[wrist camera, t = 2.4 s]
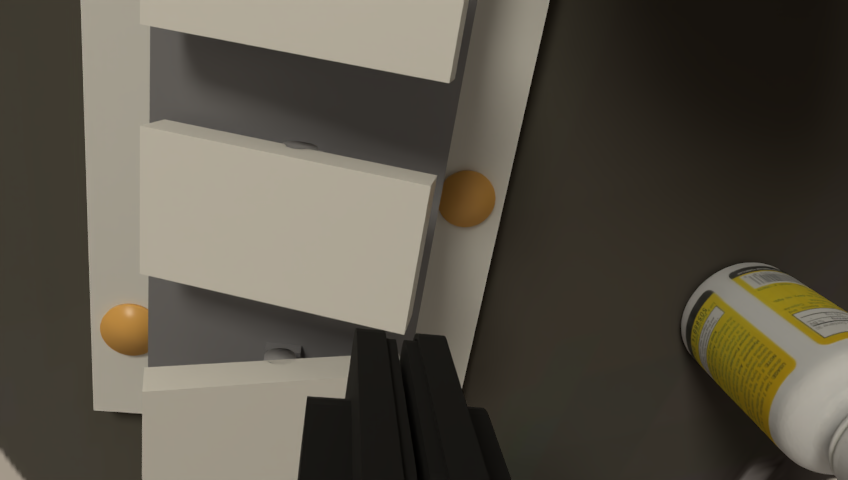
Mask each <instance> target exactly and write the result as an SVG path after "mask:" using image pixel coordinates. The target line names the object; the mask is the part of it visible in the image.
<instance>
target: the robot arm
mask: <svg viewBox="0 0 848 480" xmlns="http://www.w3.org/2000/svg"><path fill="white" fill-rule="evenodd" d="M298 480H511V478H510V475H509V472H508V469H507V466H506V463H505V461H504V458H503V455H502V452H501V449H500V446H499V444H498V441H497V438H496V435H495V432H494V429H493V426H492V424H491V421H490V418H489V415H488V413H487V411H486V410H485V409H484V408H477V407H467V404H466V401H465V398H464V394H463V391H462V388H461V385H460V381H459V378H458V375H457V372H456V368H455V365H454V362H453V358H452V355H451V352H450V349H449V345H448V342H447V339H446V337H445V336H443V335H432V334H420V333H416V334H415V336H414V338H413V341H412V340H404V341H403V344H402V349H401V355H400V360H399V355H398V349H397V342H396V339H388V338H386V332H385V330H374V329H362V328H356V329H355V333H354V338H353V345H352V352H351V359H350V366H349V373H348V380H347V387H346V394H345V399H342V398H327V397H312V396H307V401H306V409H305V418H304V426H303V435H302V443H301V452H300V461H299V471H298Z"/></svg>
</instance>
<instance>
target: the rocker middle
mask: <svg viewBox="0 0 848 480" xmlns="http://www.w3.org/2000/svg"><path fill="white" fill-rule="evenodd" d="M436 180H437V175H433V174H428V173H423V172H418V171H413V170H409V169H404V168H399V167H394V166H389V165H384V164H379V163H375V162H370V161H365V160H360V159H355V158H350V157H345V156H341V155H336V154H331V153H326V152H321V151H318V146H316V145H314V144H311V143H307V142H302V141H285V142H283V144H282V143H277V142H273V141H268V140H263V139H258V138H253V137H248V136H243V135H239V134H234V133H229V132H224V131H219V130H214V129H209V128H205V127H200V126H195V125H190V124H185V123H180V122H175V121H171V120H166V119H164V120H160V121H156V122H152V123H148V124H145V125H141V126H140V274H143V275H147V276H152V277H156V278H160V279H165V280H169V281H173V282H178V283H182V284H186V285H191V286H195V287H199V288H204V289H208V290H212V291H217V292H221V293H225V294H230V295H234V296H238V297H242V298H247V299H251V300H255V301H260V302H264V303H268V304H273V305H277V306H281V307H286V308H290V309H294V310H299V311H303V312H307V313H312V314H316V315H320V316H325V317H329V318H333V319H338V320H342V321H346V322H350V323H355V324H359V325H363V326H368V327H372V328H376V329H381V330H385V331H389V332H394V333H398V334H402V335H404V334H405V332H406V329H407V327H408V324H409V322H410V319H411V317H412V312H413V306H414V301H415V295H416V290H417V284H418V279H419V273H420V268H421V262H422V257H423V251H424V246H425V240H426V235H427V229H428V224H429V218H430V213H431V207H432V202H433V196H434V191H435V185H436Z"/></svg>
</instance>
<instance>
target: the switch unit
mask: <svg viewBox="0 0 848 480" xmlns="http://www.w3.org/2000/svg"><path fill="white" fill-rule="evenodd" d="M549 1H550V0H469V4H468V9H467V15H466V20H465V26H464V31H463V37H462V42H461V48H460V53H459V59H458V64H457V70H456V75H455V79H454V80H453V81H452V82H450V83H445V82H440V81H434V80H429V79H424V78H419V77H413V76H408V75H403V74H398V73H393V72H387V71H382V70H377V69H372V68H366V67H361V66H356V65H351V64H346V63H340V62H335V61H330V60H325V59H319V58H314V57H309V56H304V55H299V54H293V53H288V52H283V51H278V50H272V49H267V48H262V47H257V46H252V45H246V44H241V43H236V42H231V41H225V40H220V39H215V38H210V37H205V36H199V35H194V34H189V33H184V32H178V31H173V30H168V29H163V28H158V27H152V26H147V25H142V24H140V0H81V27H82V58H83V90H84V122H85V153H86V185H87V216H88V248H89V279H90V311H91V342H92V374H93V405H94V410H97V411H112V412H126V413H140V414H142V389H143V376H144V367H161V366H179V365H196V364H213V363H231V362H248V361H264V355H265V353H266V352H267V351H268V350H270V349H273V348H286V349H289V350H291V351H293V352H294V353H295V355H296V359H300V358H317V357H335V356H351V352H352V345H353V338H354V333H355V329H356V328H362V329H374V330H381V329H376V328H372V327H368V326H363V325H359V324H355V323H350V322H346V321H342V320H338V319H333V318H329V317H325V316H320V315H316V314H312V313H307V312H303V311H299V310H294V309H290V308H286V307H281V306H277V305H273V304H268V303H264V302H260V301H255V300H251V299H247V298H242V297H238V296H234V295H230V294H225V293H221V292H217V291H212V290H208V289H204V288H199V287H195V286H191V285H186V284H182V283H178V282H173V281H169V280H165V279H160V278H156V277H152V276H147V275H143V274H140V126H141V125H145V124H148V123H152V122H156V121H160V120H164V119H166V120H171V121H175V122H180V123H185V124H190V125H195V126H200V127H205V128H209V129H214V130H219V131H224V132H229V133H234V134H239V135H243V136H248V137H253V138H258V139H263V140H268V141H273V142H277V143H282V144H283V142H285V141H302V142H307V143H311V144H314V145H316V146H318V151H321V152H326V153H331V154H336V155H341V156H345V157H350V158H355V159H360V160H365V161H370V162H375V163H379V164H384V165H389V166H394V167H399V168H404V169H409V170H413V171H418V172H423V173H428V174H433V175H437V180H436V185H435V191H434V196H433V202H432V207H431V213H430V218H429V224H428V229H427V235H426V240H425V246H424V251H423V257H422V262H421V268H420V273H419V279H418V284H417V290H416V295H415V301H414V306H413V312H412V317H411V319H410V322H409V324H408V327H407V329H406V332H405V334H404V335H402V334H398V333H394V332H389V331H385V332H386V338H388V339H396V342H397V349H398V354H399V356H400V355H401V349H402V344H403V341H404V340H412V341H413V338H414V336H415V334H416V333H420V334H432V335H443V336H445V337H446V339H447V342H448V345H449V349H450V352H451V355H452V358H453V362H454V365H455V368H456V372H457V375H458V378H459V381H460V385H461V388H462V386H463V382H464V378H465V373H466V369H467V364H468V360H469V355H470V351H471V347H472V342H473V338H474V333H475V329H476V324H477V320H478V316H479V311H480V307H481V302H482V298H483V293H484V289H485V285H486V280H487V276H488V271H489V267H490V263H491V258H492V254H493V249H494V245H495V240H496V236H497V232H498V227H499V223H500V218H501V214H502V209H503V205H504V201H505V196H506V192H507V187H508V183H509V178H510V174H511V170H512V165H513V161H514V156H515V152H516V147H517V143H518V139H519V134H520V130H521V125H522V121H523V116H524V112H525V108H526V103H527V99H528V94H529V90H530V85H531V81H532V77H533V72H534V68H535V63H536V59H537V55H538V50H539V46H540V41H541V37H542V32H543V28H544V24H545V19H546V15H547V10H548V6H549Z"/></svg>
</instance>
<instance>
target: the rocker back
mask: <svg viewBox="0 0 848 480" xmlns="http://www.w3.org/2000/svg"><path fill="white" fill-rule="evenodd" d="M398 355H399V354H398ZM350 359H351V356H335V357H317V358H300V359H296V355H295V353H294V352H293V351H291V350H289V349H286V348H273V349H270V350H268V351H267V352H266V353H265V355H264V361H248V362H231V363H213V364H196V365H179V366H161V367H144V376H143V389H142V480H298V471H299V461H300V452H301V443H302V435H303V426H304V418H305V409H306V401H307V396H312V397H327V398H342V399H345V394H346V387H347V380H348V373H349V366H350ZM399 360H400V356H399Z"/></svg>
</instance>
